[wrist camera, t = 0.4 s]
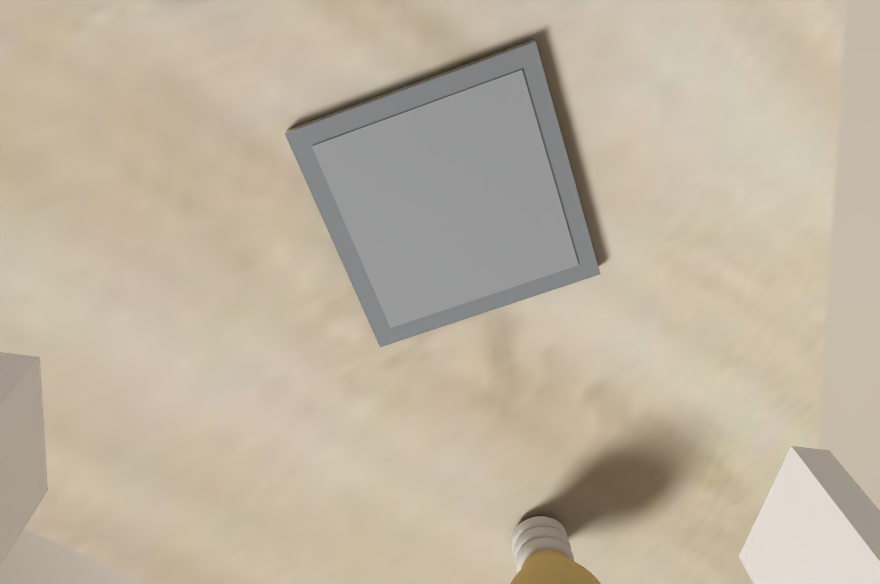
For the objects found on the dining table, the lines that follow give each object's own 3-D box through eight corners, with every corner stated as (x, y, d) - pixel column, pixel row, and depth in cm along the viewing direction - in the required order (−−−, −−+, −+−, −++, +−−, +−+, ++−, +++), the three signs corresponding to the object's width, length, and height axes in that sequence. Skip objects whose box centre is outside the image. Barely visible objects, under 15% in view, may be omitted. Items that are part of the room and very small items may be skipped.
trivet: (287, 130, 37) (284, 134, 37) (532, 39, 36) (536, 41, 35) (380, 340, 43) (380, 348, 42) (596, 268, 42) (600, 274, 41)
